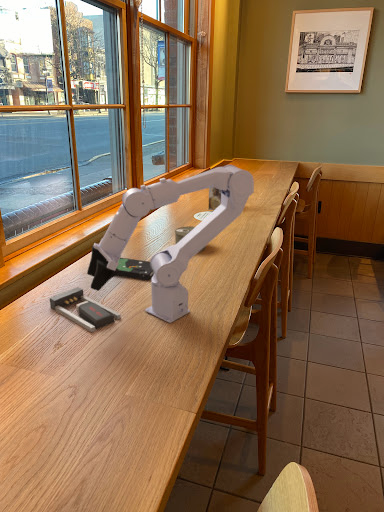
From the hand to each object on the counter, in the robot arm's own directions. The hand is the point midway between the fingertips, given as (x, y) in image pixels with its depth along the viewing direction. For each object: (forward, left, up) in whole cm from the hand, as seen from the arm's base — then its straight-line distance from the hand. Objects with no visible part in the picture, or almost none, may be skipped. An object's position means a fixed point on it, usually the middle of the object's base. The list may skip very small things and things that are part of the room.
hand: (92, 281), depth 96 cm
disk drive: (+16, -27, -11) cm, 33 cm away
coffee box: (+42, -109, -11) cm, 117 cm away
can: (+17, -57, -11) cm, 61 cm away
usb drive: (+2, 0, -11) cm, 12 cm away
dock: (+6, 0, -11) cm, 12 cm away
